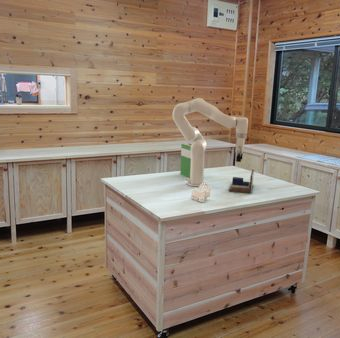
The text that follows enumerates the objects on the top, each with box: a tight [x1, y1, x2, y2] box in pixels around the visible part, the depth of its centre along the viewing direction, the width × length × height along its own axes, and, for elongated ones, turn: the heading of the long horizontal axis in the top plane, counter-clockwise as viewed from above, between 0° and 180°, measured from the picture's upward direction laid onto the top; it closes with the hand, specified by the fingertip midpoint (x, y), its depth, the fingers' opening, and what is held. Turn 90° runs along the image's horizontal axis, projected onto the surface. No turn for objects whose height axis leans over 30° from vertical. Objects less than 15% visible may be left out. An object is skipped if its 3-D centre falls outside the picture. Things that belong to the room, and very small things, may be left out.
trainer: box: [230, 176, 250, 189], centre depth 260 cm, size 12×5×6 cm, turn 76°
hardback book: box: [179, 143, 192, 178], centre depth 295 cm, size 18×7×24 cm, turn 30°
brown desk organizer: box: [229, 168, 255, 195], centre depth 264 cm, size 14×24×12 cm, turn 166°
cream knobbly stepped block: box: [190, 184, 211, 203], centre depth 235 cm, size 12×6×11 cm, turn 40°
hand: (239, 160), depth 260 cm, fingers open, 9 cm apart
